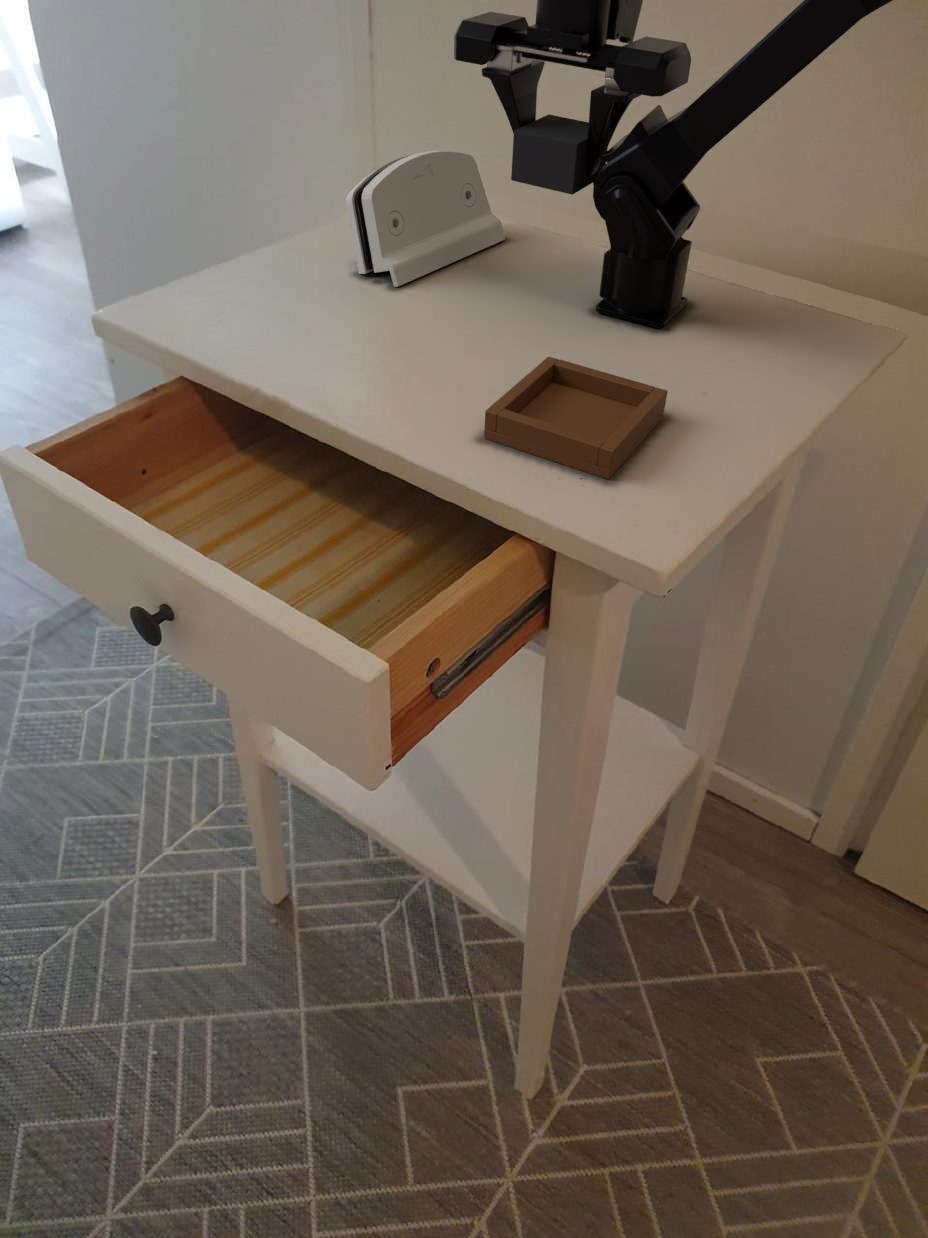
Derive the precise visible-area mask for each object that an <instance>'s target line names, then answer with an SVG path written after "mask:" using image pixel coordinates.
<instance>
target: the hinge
mask: <svg viewBox="0 0 928 1238" xmlns="http://www.w3.org/2000/svg"><path fill="white" fill-rule="evenodd" d="M345 207H346V210H347V216H348V222H349V227H350V228H349V229H350V232H351V239H352V243H353V248H354V250H353V251H354V254H355V260H356V265H357V266H356V267H357V270H358V274H359V275H366V274H369V273H371V272H374V273H375V274H376V273H382V272H388V271H389V273H390V277H391V281H392V285H393V288H397V287H400V286H402V285H404V284H407V283H409V282H412V281H414V280H417V279H418V278H420V277H423V276H425V275H427V274H430V273H432V272H435V271H437V270H439V269H441V268H443V267H446V266H448V265H450V264H453V263H455V262H457V261H459V260H461V259H464V258H466V257H468V256H471V255H473V254H475V253H478V252H480V251H482V250H484V249H486V248H489V247H491V246H493V245H496V244H498V243H500V242H503V241H504V240H506V238H505V232H504V229H503V228H504V227H503V224H502V221H501V219H500V218H498V217H497V216H496V215H495V214H494V213H493V212H492V210H491V207H490V203H489V200H488V197H487V194H486V191H485V188H484V184H483V181H482V176H481V174H480V171H479V168H478V164H477V161H476V160H475V158H474V156H473V155H471V154H467V153H463V152H458V151H448V150H447V151H446V150H428V151H421V152H418V153H413V154H408V155H405V156H401V157H399V158H396V159H393V160H391V161H390V162H387V163H386V164H384V165H382V166H380V167H379V168H377V169H376V170H374V171H372V172H371V173H370V174H368V175H366V176H365V177H364V178H363V179H362V180H360V181H359V182H358V183H357V184H356V185H355V186H353V188H352V190H351V191H349V193H348V194H347V195H346V199H345Z"/></svg>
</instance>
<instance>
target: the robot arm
mask: <svg viewBox="0 0 928 1238" xmlns="http://www.w3.org/2000/svg"><path fill="white" fill-rule="evenodd" d="M893 1H894V0H803V1H802V2H800V4H798V5H797V6H796V7H794V9H793V10H792V11H790V12H789V13H788V14H787V15H786V17H785V16H784V18H783V19H782V20H781V21H780V22H779V23H777V25H776V26H775V27H773V28H771V30H770V31H769V32H767V34H765V36H764V37H763V38H762V39H760V40H759V41H758V42H757V43H756V44H754V46H753V47H752V48H751V49H749V50H748V51H747V52H746V53H745V54H744V55H743V56H742V57H740V59H738V60H737V61H736V62H735V63H734V64H733V65H731V67H730V68H729V69H728V70H727V71H726V72H724V73H723V75H721V76H719V78H718V79H717V80H716V81H714V82H713V84H711V85H710V86H709V87H708V88H707V89H706V90H705V91H704V92H703V93H701V94H700V96H698V97H697V98H696V99H695V100H694V101H693V102H692V103H690V104H689V105H688V106H686V107H685V108H684V109H682V110H680V111H678V112H677V113H675V114H673V115H671V116H670V117H668V118H667V115H666V114H665V112H664V110H663V108H662V105H660V104H657V105H656V106H655V107H654V108H653V109H652V110H651V111H649V112H648V113H647V114H646V115H645V116H644V117H643V118H642V119H640V120H639V121H638V122H637V123H636V124H635V125H634V126H633V128H632V129H631V130H630V132H628V133H627V134H625V135H624V136H623V137H622V138H621V139H619V140H618V141H617V142H616V143H615V144H614V145H613V146H612V147H610V148H609V149H607V147H609V145H610V143H611V141H612V138H613V137H614V134H615V132H616V129H617V128H618V125H619V123H620V121H621V120H622V118H623V115H624V114H625V113H626V111H627V109H628V107H630V105H631V104H632V102H633V100H635V99H637V98H638V97H641V96H646V97H652V98H653V97H654V98H655V97H663V96H665V95H667V94H669V93H670V92H672V91H675V90H676V89H678V88H680V87H682V86H684V85H686V84H688V82H689V77H690V71H691V65H692V56H691V52H690V50H689V47H688V45H687V43H686V42H684V41H678V40H670V39H665V38H659V37H651V36H643V37H641V38H639V39H636V40H634V39H635V35H636V31H637V28H638V27H637V26H638V23H639V18H640V15H641V10H642V6H643V2H644V0H536V7H535V22H534V23H535V24H531V25H529V23H528V20H527V18H526V16H520V15H514V14H509V13H501V12H496V11H488V12H485V13H481V14H478V15H475V16H472V17H468V18H464V19H462V21H461V22H460V23H459V24H458V27H457V28H456V31H455V33H454V36H453V39H454V40H453V59H454V60H455V61H458V62H463V63H469V64H474V65H479V66H485V65H486V66H485V67H483V68H481V77H483V78H487V79H489V80H490V82H491V84H492V87H493V88H494V90H495V93H496V95H497V97H498V100H499V102H500V104H501V106H502V108H503V110H504V112H505V114H506V117H507V121H508V122H509V125H510V128H511V131H512V133H513V134H512V135H514V130H516V129H518V128H520V127H523V126H525V125H527V124H529V123H531V122H533V121H535V120H537V100H538V99H537V97H538V85H539V82H540V79H541V77H542V73H543V70H544V67H545V64H546V62H549V63H553V64H559V65H565V66H571V67H577V68H580V69H581V68H582V69H586V70H587V69H588V70H593V71H599V72H605V73H604V78H605V80H604V84H603V85H600V86H599V87H598V86H597V87H596V88H594V89H592V90H590V99H589V111H588V112H589V114H588V122H589V127H588V141H587V173H588V174H590V175H592V174H594V173H595V172H596V171H597V170H598V167H599V165H600V163H601V161H605V162H606V165H604V166H603V167H602V168H601V170H600V171H599V172H598V174H597V175H596V177H595V180H594V182H593V183H592V186H593V188H592V198H593V203H594V207H595V210H596V211H597V212H598V215H599V217H600V218H601V219H602V220H603V221H604V223H605V226H606V231H607V235H608V241H609V244H610V245H609V246H610V248H609V249H608V250H607V251H605V252H604V254H603V261H602V267H601V268H602V270H601V276H600V277H601V278H600V286H599V297H600V299H601V300H600V301H599V302H597V304H596V305H595V312H597V313H600V314H604V315H608V316H612V317H615V318H618V319H623V320H627V321H629V322H635V323H638V324H641V325H646V326H648V327H653V328H657V329H662V328H664V327H665V326H666V325H667V324H669V322H670V321H671V320H672V319H673V318H674V317H675V316H676V315H677V314H678V313H679V312H680V311H681V310H682V309H683V308H684V307H685V306H686V305H687V304H688V297H686V296H683V293H684V287H685V282H686V276H687V271H688V264H689V259H690V254H691V248H692V240H689V239H685V238H683V236H684V234H685V233H686V232H687V231H688V230H689V229H690V228H691V227H692V225H693V223H694V222H695V219H696V218H697V216H698V214H699V212H700V211H701V205H700V204H699V202H698V200H697V199H696V198H695V196H694V195H693V193H692V192H691V190H690V189H689V187H688V186H687V185H686V183H685V180H686V179H687V178H688V176H689V175H691V173H692V172H693V171H694V169H695V168H696V167H697V166H698V165H699V163H700V162H701V161H702V160H703V158H704V157H705V156H706V155H707V153H708V152H709V151H710V150H711V149H713V148H714V147H715V146H716V145H717V144H719V143H720V142H721V141H722V140H723V139H724V138H725V137H727V136H728V135H729V134H730V133H731V132H732V131H734V130H735V129H736V128H737V127H738V126H739V125H740V124H741V123H743V122H744V121H745V120H747V118H749V117H750V116H751V115H752V114H753V113H754V112H756V111H757V110H758V109H759V108H760V107H761V106H762V105H764V103H766V102H767V101H768V100H769V99H770V98H772V97H773V96H775V94H776V93H778V92H779V91H780V90H781V89H782V88H784V86H786V85H787V84H788V83H789V82H790V81H792V79H794V78H795V77H796V76H798V74H799V73H801V72H802V71H803V70H804V69H805V68H806V67H807V66H809V65H810V64H811V63H812V62H813V61H815V60H816V59H817V58H818V57H819V56H820V55H821V54H823V53H824V52H825V51H826V50H827V49H828V48H829V47H830V46H832V45H833V44H834V43H835V42H836V41H837V40H839V39H840V38H841V37H842V36H844V35H845V34H846V33H847V32H848V31H849V30H850V29H852V28H853V27H854V26H855V25H856V24H858V23H859V22H860V21H861V20H862V19H864V18H865V17H867V16H868V15H871V14H872V13H874V12H875V11H877V10H879V9H881V8H882V7H884V6H886V5H887V4H889V3H891V2H893ZM617 40H618V41H619V42H620V43H623V44H625V45H622V46H621V45H616V44H609V43H607V41H617ZM606 150H607V152H606ZM605 152H606V153H605Z"/></svg>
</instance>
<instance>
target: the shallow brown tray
mask: <svg viewBox="0 0 928 1238" xmlns="http://www.w3.org/2000/svg"><path fill="white" fill-rule="evenodd" d="M668 391H669V390H666V389H663V388H661V387H658V386H657V387H655V386H654V385H650V384H647V383H643V382H639V381H636V380H633V379H629V378H627V377H626V378H625V377H622V376H619V375H615V374H611V373H609V372H605V371H601V370H598V369H594V368H591V367H587V366H584V365H581V364H578V363H577V364H576V363H573V362H570V361H567V360H563V359H559V358H555V357H553V356H547V357H545V359H543V360H542V361H541V362H540V363H538V365H536V366H535V367H534V368H532V370H531V371H530V372H528V373H527V374H526V375H524V377H522V378H521V379H520V380H519V381H518V382H517V383H516V384H514V385H513V386H512V387H511V388H510V389H509V390H508V391H506V392H505V393H504V394H503V395H502V396H501V397H500V398H498V399H497V400H496V401H494V403H492V404H491V405H490V406H489V407H488V408H487V409H485V412H484V430H483V438H484V439H485V440H488V441H491V442H494V443H497V444H501V445H504V446H506V447H510V448H513V449H516V450H519V451H522V452H525V453H528V454H531V455H534V456H536V457H539V458H543V459H545V460H549V461H552V462H554V463H558V464H561V465H564V466H567V467H570V468H573V469H576V470H578V471H582V472H585V473H588V474H590V475H593V476H597V477H600V478H603V479H605V480H610V479H611V478H612V476H613V475H614V474H615V473H616V472H617V471H618V469H619V468H620V467H621V466H622V465H623V464H624V463H625V462H626V460H627V459H628V458H629V457H630V456H631V455H632V453H634V451H635V450H636V449H637V448H638V447H639V445H641V443H642V442H643V441H644V440H645V438H646V437H647V436H649V434H650V433H651V432H652V431H653V429H654V428H655V427H656V426H657V425H658V424H659V422H660V421H661V420H662V419H663V418H664V414H665V408H666V404H667V397H668Z"/></svg>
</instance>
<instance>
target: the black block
mask: <svg viewBox="0 0 928 1238" xmlns="http://www.w3.org/2000/svg"><path fill="white" fill-rule="evenodd" d="M588 127H589V121H583V120H578V119H573V118H569V117H563V116H559V115H554V114H546V115H545V116H542V117H539V118H538V119H536V120H535V121H533V122H531V123H529V124H527V125H525V126H523V127H520V128H518V129H516V130H514V134H513V139H512V140H513V141H512V157H511V158H512V159H511V174H510V175H511V176H510V180H511V181H513V182H517V183H520V184H524V185H525V184H526V185H530V186H534V187H538V188H541V189H546V190H551V191H555V192H559V193H563V194H567V195H571V196H572V195H575V194H576V193H579V192H580V191H582V190H583V189H585V188H586V187H589V186H590V185H592V184H593V182H594V180H595V177H596V175H597V174H598V172H599V171H600V170H601V168H602V167H603V166H604V165H606V164H607V162H605V161H601V163H600V165H599V167H598V170H597V171H596V172H595V173H594V174H592V175H590V174H588V173H587V141H588ZM608 147H609V146H608ZM608 147H607V150H606V152H607V151H608V150H609V149H608ZM606 152H605V153H606Z"/></svg>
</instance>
